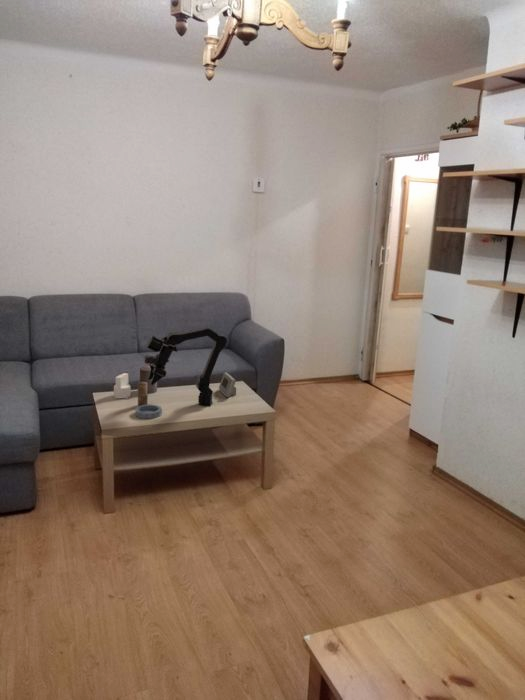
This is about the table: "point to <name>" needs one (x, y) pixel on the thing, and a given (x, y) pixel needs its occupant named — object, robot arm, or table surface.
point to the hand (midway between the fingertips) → (150, 382)
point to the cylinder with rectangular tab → (122, 387)
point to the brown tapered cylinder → (142, 394)
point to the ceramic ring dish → (148, 411)
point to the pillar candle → (144, 378)
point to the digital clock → (227, 385)
